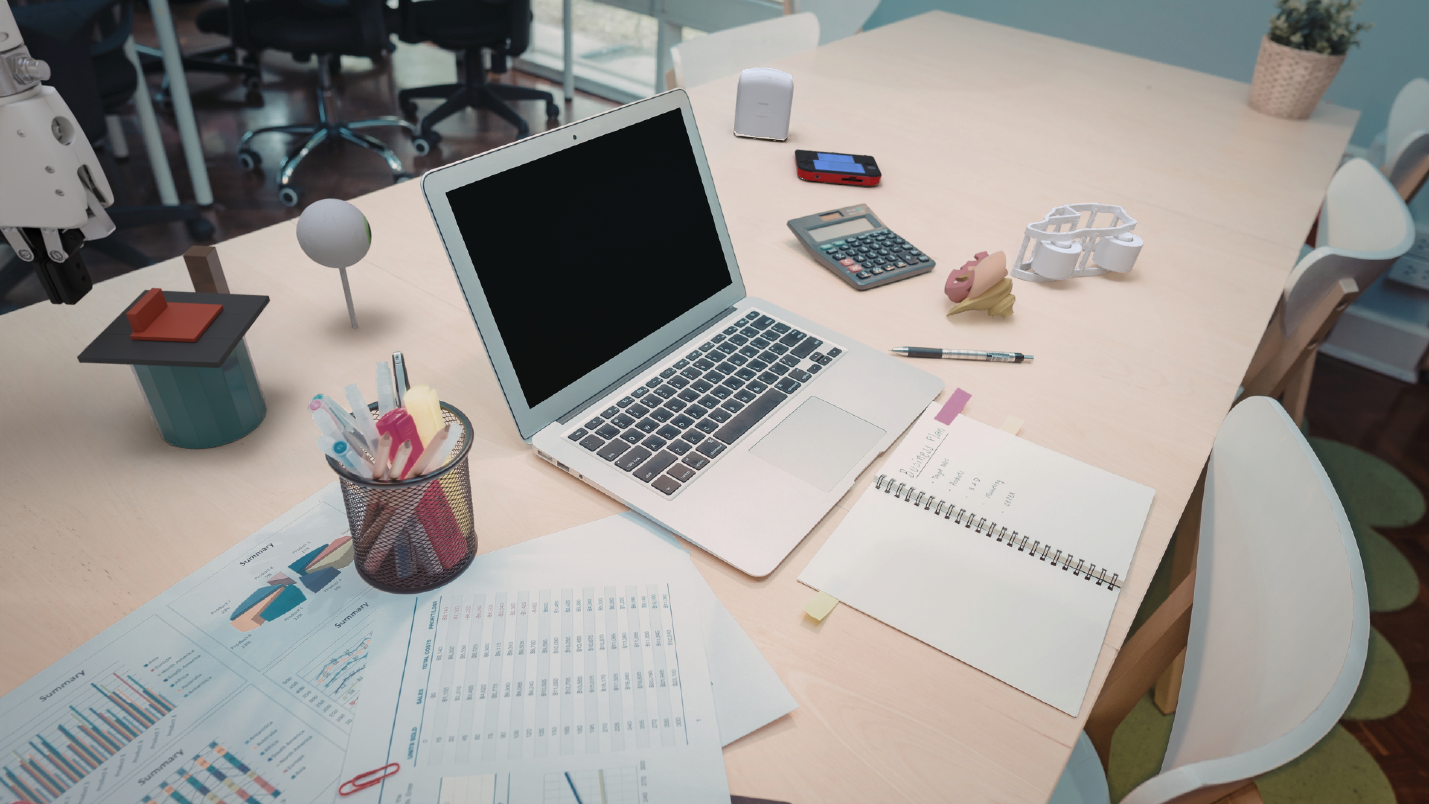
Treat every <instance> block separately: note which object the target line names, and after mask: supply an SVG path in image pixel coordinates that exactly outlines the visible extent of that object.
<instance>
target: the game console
mask: <svg viewBox="0 0 1429 804" xmlns="http://www.w3.org/2000/svg"><path fill="white" fill-rule="evenodd" d="M794 159H795V164H796V171H797V176H798V177H799V178H800V177H801V178H803V179H805V180H804V181H806V180H808V181H807V182H812V181H818V182H817V183H823V182H826V183H825V184H834V185H836V184H837V185H846V186H848V185H849V186H859V187H874V186H876V185H879V183H880V181H881V178H882V176H883V174H882V172H881V170H880V168H879V165H878V163H877V161H876V158H875V157H874V156H873V155H867V154H855V153H842V152H835V151H832V152H831V151H820V150H809V149H808V150H807V149H797V148H796V149H795V150H794ZM801 178H800V179H801ZM803 179H802V180H803Z"/></svg>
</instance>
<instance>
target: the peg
mask: <svg viewBox="0 0 1429 804" xmlns="http://www.w3.org/2000/svg"><path fill="white" fill-rule="evenodd" d="M182 257H183V261H184V263H185V266H186V269H187V272H188V275H189V278H190V280H191V283H192V286H193V289H194V292H202V293H224V294H231V292H230V291H231V290H230V288H229V285H228V282H227V279H226V278H227V277H226V275H225V272H224V269H223V266H222V263H221V260H220V256H219V253H218V250H217V247H216V246H211V245H192V246H191V247H189V249H188V250H186V252H185V253H184V254H183V255H182Z"/></svg>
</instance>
